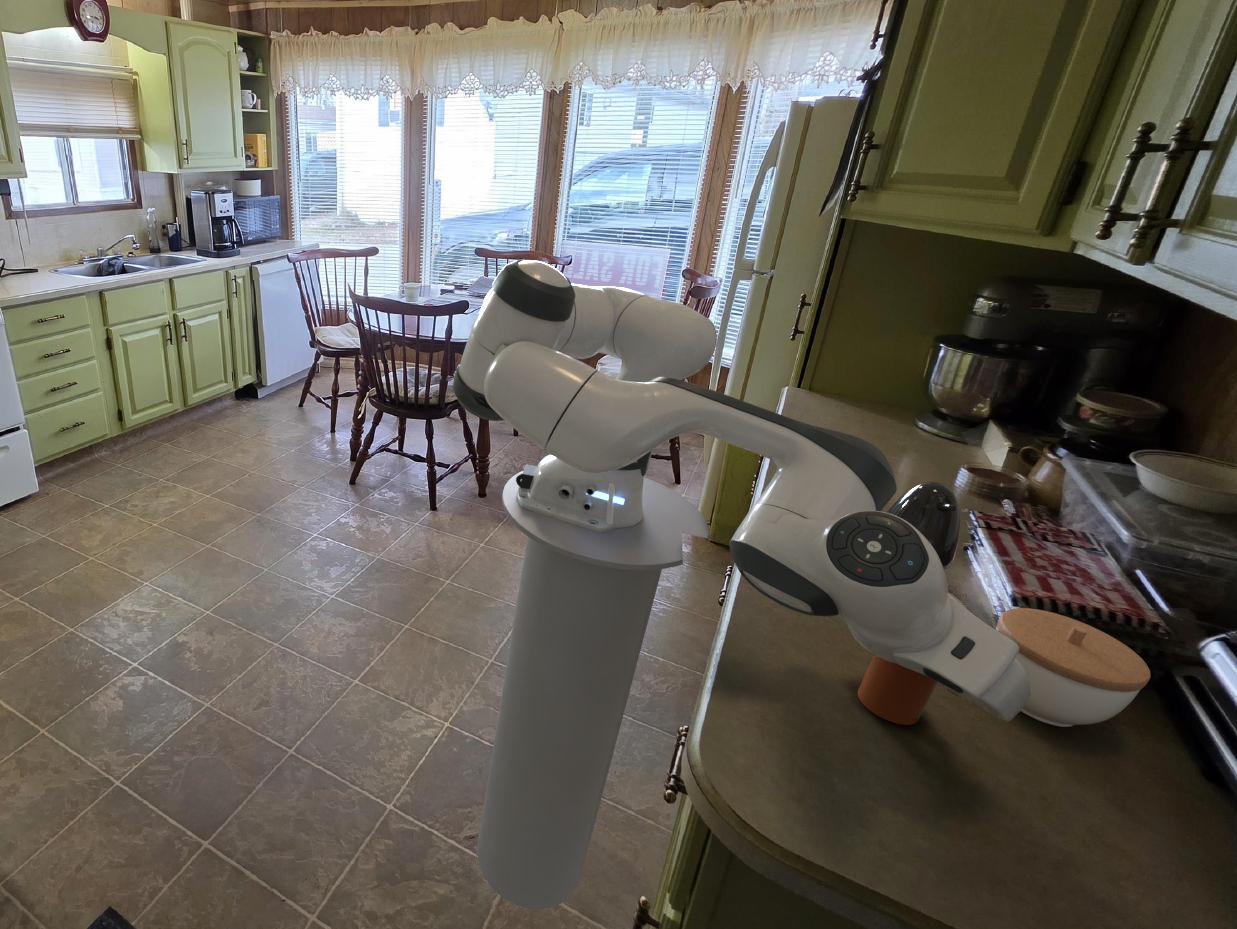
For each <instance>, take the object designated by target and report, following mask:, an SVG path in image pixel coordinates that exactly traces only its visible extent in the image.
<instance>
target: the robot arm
mask: <svg viewBox="0 0 1237 929" xmlns="http://www.w3.org/2000/svg"><path fill="white" fill-rule="evenodd" d="M467 338H468V339H467V341H466V343H465V347H464V349H463V353H462V357H461V359H460V363H459V364H458V366H456V368H455V373H454V377H453V383H452V391H453V393H454V395H455V398H456V399H457V401H458V403H459V404H460V406H461V407H462V408H463V409H464V410H465V411H466V412H468V413H469V414H471V415H473V416H475V417H477V418H480V419H482V420H484V421H485V420H486V421H490V422H503V421H505V422H506V423H507V425H509V426H510V427H512V428H513V429H514V430H515V431H516V432H518V433H519V434H521V435H522V436H523V437H524V438H526V439H527V440H528V441H529V442H531V443H533V444H534V445H536V446H537V447H539V448H540V449H541V450H543V451H545V452H546V453H548V455H546V456H544V457H543V458H542V459H541V460H539V461H540V462H539V463H538V464H537V465H531V464H525V465H524V468H523V470H522V471H523V474H520V475H518V476H517V478H516V482H517V484H518V486H519V488H518V491H517V501H518V503H519V505H520V506H521V507H522V508H524V509H527V510H530V511H533V512H536V513H539V514H542V515H545V516H549V517H552V518H555V519H558V520H561V521H564V522H567V523H570V524H573V525H576V526H579V527H582V528H585V529H588V530H591V531H595V532H598V533H604V532H607V531H609V530H612V529H615V528H625V527H630V526H633V525H636V524H638V523H639V522H640V521H641V520H642V519H643V506H642V493H643V480H644V477H645V475H646V474H647V471H648V470H649V467H650V461H651V457H652V453H653V450H655V449H656V448H658V447H660V446H661V445H662V444H664V443H666V442H667V441H669V440H672V439H675V438H676V437H680V436H683V435H688V434H689V435H690V434H701V435H705V436H709V437H712V438H713V439H717V440H718V441H719V440H720V441H721V442H725V443H727V444H730V445H733V446H735V447H737V448H741V449H743V450H745V451H748V452H751V453H753V454H756V455H758V456H761V457H763V458H766V459H769V460H771V461H772V462H773V463H774V464H775V465H776V471H775V474H774V475H773V476H772V478H771V479H770V481H769V482H768V484H767V485H766V487H765V489H764V490H763V491H762V492H761V494H760V496H759V497H758V499H757V501H756V502H755V503H754V505H752V506H751V507H750V509H749V510H748V512H747V513H746V515H745V516H744V518H743V519H742V521H741V523H740V524H739V526H738V527H737V529H736V531H735V532H734V534H733V536H732V538H731V539H730V540H729V544H728V545H729V551H730V555H731V558H732V560H733V562H734V564H735V566H736V568H737V570H738V571H739V574H740V575H741V576H742V577H743V578H744V579H745V580H746V582H748V584H749V585H750V586H752V587H753V588H754V589H755V590H756V591H758V592H759V593H760V594H762V595H763V596H765V597H766V598H767V599H770V601H773V602H775V603H777V604H779V605H781V606H783V607H784V608H787V609H789V610H792V611H794V612H798V613H800V614H804V615H806V616H816V617H827V618H829V619H831V620H832V621H834V622H836V623H838V625H840V626H843V627H844V628H846V629H847V630H849V631H850V633H851V635H852V637H853V638H854V640H855V641H856V642H857V643H858V644H859V646H861V648H863V649H864V650H866V651H867V652H868V653H870V654H871V655H874V656H876V657H879V658H881V659H883V660H886V661H890V662H894V663H897V664H899V665H901V666H903V667H905V668H908V669H911V670H913V671H916V672H919V673H921V674H924V675H926V676H927V677H929V678H931V679H932V680H934V681H936V682H937V684H938V685H941V686H942V687H944V688H946V689H947V691H948V692H949V693H951V694H952V695H954V696H956V697H957V698H959V699H960V700H965V701H968V702H969V703H971V704H973V705H974V706H976V707H977V708H979V709H981V710H983V711H985V712H986V713H987V714H988V715H990V716H993V717H994V718H995V719H998V720H1000V721H1003V722H1010V721H1012V720H1014V718H1015V717H1016V716H1017V715H1018V714H1019V713H1020V712H1021V711H1020V710H1021V709H1022V708H1023V707H1024V705H1025V704H1026V703H1027V701H1028V700H1029V698H1030V695H1031V688H1030V683H1029V679H1028V676H1027V673H1026V671H1025V669H1024V668H1023V666H1022V665H1021V664H1020V663H1019V662H1018V661H1017V660H1016V659H1015V657H1016V656H1017V654H1018V652H1019V646H1018V645H1017V644H1016V643H1015V642H1014V641H1013V640H1011V639H1010V638H1008V637H1007V636H1005V635H1003V634H1002V633H1001V632H999V631H998V630H996V627H995V628H994V627H993V626H992V625H990V624H989V623H987V622H985V621H984V620H983V619H981V618H979V617H978V616H976V615H974V614H973V613H972V612H971V611H969V609H968V608H967V607H966V606H965V605H964V606H965V607H964V606H962V605H961V604H960V603H959V602H958V601H957V600H956V599H954V598H953V597H952V596H951V595H949V594H948V593H949V589H948V581H947V576H946V572H945V570H944V569H943V566H942V563H941V561H940V559H939V556H938V554H937V553H936V551H935V549H934V548H933V547H932V545H931V544H930V542H929V541H928V540H927V539H926V538H925V537H924V535H923V534H921V533H920V532H919V531H918V530H917V529H916V528H915V527H914V526H912V525H911V524H910V523H908V522H907V521H905V520H904V519H902V518H900V517H898V516H895V515H893V514H890V513H886V512H887V511H886V512H885V511H882V510H883V509H884V508H885V507H886V505H887V504H888V503H889V502H890V501H891V499H892V498H893V497H894V496H895V495H896V494H897V490H898V489H897V482H896V479H895V478H896V477H895V474H894V471H893V468H892V467H891V464H890V462H889V461H888V458H887V457H886V456H885V454H884V452H883V451H882V450H881V449H880V448H879V447H877V446H876V445H875V444H873V443H871V442H869V441H867V440H865V439H863V438H860V437H858V436H854V435H853V434H852V435H851V434H848V433H845V432H842V431H837V430H833V429H829V428H825V427H821V426H817V425H813V424H809V423H805V422H802V421H800V420H796V419H794V418H791V417H788V416H785V415H783V414H780V413H777V412H775V411H772V410H769V409H766V408H763V407H760V406H758V405H755V404H752V403H750V402H747V401H744V400H741V399H738V398H736V397H733V396H730V395H728V394H725V393H722V392H720V391H716V390H714V389H710V388H707V387H705V386H702V385H699V384H696V383H693V382H689V381H687V380H686V381H685V379H687V378H689V377H692V376H694V375H696V374H698V372H700V371H701V370H702V369H704V368H705V367H706V366H707V365H708V364H709V363H710V361H711V359H712V357H713V355H714V353H715V351H716V347H717V341H718V334H717V329H716V326H715V324H714V322H713V321H712V320H711V319H710V318H708V317H707V316H705V315H703V314H702V313H700V312H699V311H697V310H695V309H693V308H691V307H689V306H688V305H685V304H681V303H678V302H675V301H671V300H667V299H665V298H661V297H657V296H655V295H649V294H647V293H643V292H640V291H636V290H633V289H630V288H626V287H618V286H590V285H589V286H588V285H583V284H576V283H572V281H571V280H570V279H569V278H568V277H567V276H566V275H565V274H563V273H562V272H560V270H558V268H555V267H554V266H552V265H551V264H548V263H545V262H542V261H539V260H532V259H527V258H526V259H525V258H521V259H520V258H519V259H517V260H514V261H512V262H510V263H507V264H506V265H505V266H504V267H503V268H502V269H501V270H500V271H499V272H498V274H497V276H496V277H495V278H494V280H493V282H492V283H491V289H490V290H489V291H488V292H487V293H486V295H485V297H484V299H483V300H482V304H481V307H480V309H479V310H478V313H477V315H476V317H475V319H474V321H473V323H472V325H471V330H470V333H469V336H468V337H467ZM597 354H602V355H603V354H604V355H606V356H609V357H613V358H616V359H619V360H621V365H620V369H619V371H618V373H617V374H616V377H613V376H610V375H607V374H605V373H603V372H601V371H599V370H597V369H596V368H594V367H593V366H591V365H589V364H587V363H586V362H583V361H582V360H585V359H589V358H592V357H593V356H595V355H597ZM580 360H581V361H580ZM521 479H522V480H521Z"/></svg>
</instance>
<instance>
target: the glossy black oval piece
mask: <svg viewBox="0 0 1237 929" xmlns="http://www.w3.org/2000/svg"><path fill="white" fill-rule="evenodd" d="M886 513H890V514H893V515H895V516H898V517H900V518H902V519H904V520H905V521H907V522H908V523H910V524H911V525H912V526H914V527H915V528H916V529H917V530H918V531H919V532H920V533H921V534H923V535H924V537H925V538H926V539H927V540H928V541H929V542H930V544H931V545H932V547H933V548H934V549H935V551H936V553H937V554H938V556H939V559H940V561H941V563H942V566H943V569H944V571H946V570H948V569H949V568H951V566H952V565H953V563H954V560H955V557H956V553H957V549H958V544H959V538H960V530H961V529H960V527H961V512H960V505H959V501H958V499H957V496H956V494H955V492H954V491H953V490H952V489H951V488H950V487H949V486H946V485H945V484H943V483H940V482H934V481H927V482H921V483H918V484H917V485H915V486H913V487H911V488H910V489H908V490H907V491H906V492H904V493H903V494H902V495H901V496H900V497H899V498H898V499H897V500H896V501H895V502H894V503H893V504H892V505H891V506H890V507H889V508H888V510H887V511H886Z"/></svg>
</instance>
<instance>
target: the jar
mask: <svg viewBox="0 0 1237 929" xmlns="http://www.w3.org/2000/svg"><path fill="white" fill-rule="evenodd" d="M872 655H873V654H872ZM868 664H869V665H868V666H867V669H866V671H865V673H864V675H863V678H862V680H861V683H860V684H859V687H858V689H857V697H858V699H859V701H860V703H861V704H862V705H863V706H864V707H865V708H866V709H867V710H868V711H869V712H871V713H873V714H874V715H875V716H877V717H878V718H881V719H884V720H885V721H888V722H890V723H893V724H897V725H902V726H910V725H915V724H916V723H918V722H919V721H920V718H921V716H922V714H923V713H924V710H925V708H926V706H927V704H928V702H929V700H930V698H931V697H932V695H933V692H934V691H935V688H936V686H937V685H938V683H937V682H936V681H934V680H932V679H931V678H929V677H927V676H926V675H924V674H921V673H919V672H916V671H913V670H911V669H908V668H905V667H903V666H901V665H899V664H897V663H894V662H890V661H886V660H883V659H881V658H879V657H876V656H874V655H873V656H872V658H871V660H870V662H869V663H868Z"/></svg>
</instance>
